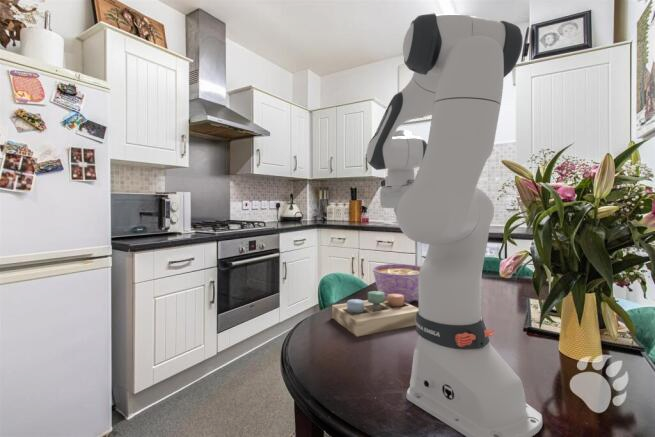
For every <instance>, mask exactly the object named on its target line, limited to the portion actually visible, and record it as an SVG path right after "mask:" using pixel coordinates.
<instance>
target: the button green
mask: <svg viewBox="0 0 655 437" xmlns="http://www.w3.org/2000/svg"><path fill="white" fill-rule="evenodd" d="M367 300H368V302H370V303H373V312H376V311H380V303H384V302H385V293H384V292H380V291H378V290H372V291H368V292H367Z"/></svg>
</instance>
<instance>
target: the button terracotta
mask: <svg viewBox="0 0 655 437" xmlns="http://www.w3.org/2000/svg"><path fill="white" fill-rule="evenodd" d="M387 304H389V305H392V308H393V309H394V308H399V306H402V305H404V296H403V295H401V294H389V295H387Z"/></svg>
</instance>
